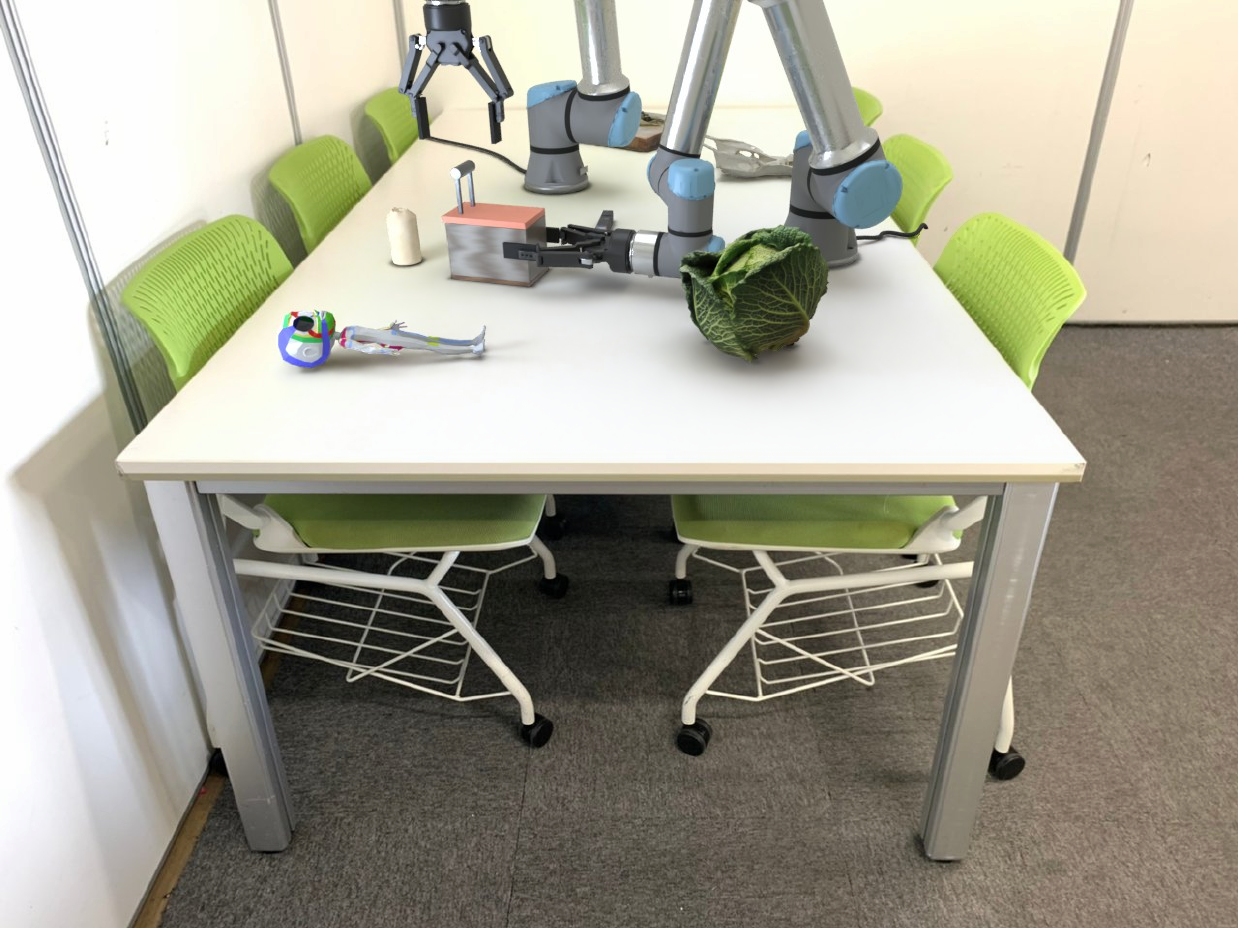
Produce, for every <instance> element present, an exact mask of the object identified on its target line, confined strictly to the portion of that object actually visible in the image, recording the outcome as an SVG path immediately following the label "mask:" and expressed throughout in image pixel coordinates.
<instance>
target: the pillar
mask: <svg viewBox="0 0 1238 928" xmlns="http://www.w3.org/2000/svg"><path fill="white" fill-rule="evenodd" d="M614 216H615V215H614V210H613V209H612V210H611V209H602V212H601V214H600V216H599V219H598V221H597V222H596V225H595V227H594V228H596V229H602V230H611V228H612V226H613V223H614Z"/></svg>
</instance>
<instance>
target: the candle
mask: <svg viewBox="0 0 1238 928" xmlns="http://www.w3.org/2000/svg"><path fill="white" fill-rule="evenodd" d="M417 220H418V219H417V215H416V213H414V212H413V211H412V210H411V209H409V208H403V207H393V208H391V210H390V211H389V212H388V214H387V215H386V217H385V221H386V227H387V234H388V240H389V247H390V254H391V260H392V263H393V264H394V265H396V266H397V265H398V266H411V265H416V264H418V263H420V262H421V261H422V260H423V258H422V251H421V243H420V235H419V229H418V227H419V226H418V221H417Z"/></svg>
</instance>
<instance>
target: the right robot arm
mask: <svg viewBox="0 0 1238 928" xmlns="http://www.w3.org/2000/svg"><path fill="white" fill-rule="evenodd" d="M743 1H744V0H693V4H692V7H691V11H690V12H691V13H690V16H689V21H688V24H687V29H686V32H685V35H684V39H683V40H684V41H683V45H682V49H681V53H680V56H679V62H678V66H677V69H676V74H675V78H674V82H673V85H672V90H671V93H670V98H669V99H670V100H669V102H668V107H667V110H666V114H665V115H666V119H665V123H664V127H663V131H662V135H661V139H660V143H659V147H658V148H657V150H656V153H655V154H654V155H653V156H652V157H651V158H650V160H649V162H648V164H647V168H646V177H647V180H648V183H649V186H650V188H651V189H652V191H653V193H654V194H656V196H658V197H659V198H660V200H662V202H663V203H664V204H665V205H666V206H667V232H666V231H659V230H649V229H639V230H637V231H636V230H635V229H633V228H632V229H631V228H621V227H620V228H619V227H618V228H617V227H616V228H614V229H610V230H602V229H596V228H595V227H590V226H584V225H578V224H572V223H568V224H566V226H561V227H556V226H555V227H554V226H546V236H547V244H548V243H549V244H561V245H553V246H547V247H540V245H539V243H537V244H536V245H534V244H522V243H511V242H503V243H502V245H503V256H504V258H507V259H517V260H528V261H536V265H537V267H549V268H566V269H567V268H568V269H569V268H570V269H571V268H572V269H573V268H574V269H575V268H576V269H578V268H579V269H586V270H592V269H594V264H601V263H606V264H607V265H608V267H609V269H610V271H611V272H613V273H617V274H625V275H627V274H628V275H631V274H633V273H634V274H635V275H641V276H647V277H648V279H652V278H654V277H663V278H669V279H670V278H671V279H678V280H682V279H681V274H680V271H679V266H680V263H681V258H682V257H683V256H684V255H687V254H688V253H691V252H694V251H697V250H698V251H711V252H718V251H720V250H723V249H725V248H726V241H725V239H724V238H723V237H722V236H718V235H714V229H713V228H714V227H713V226H714V225H713V223H714V208H715V206H714V205H715V190H716V179H715V177H716V176H715V167H714V166H715V165H714V164H713V163H712V162H710V161H709V160H704V159H703V158H702V159H701V156H702V151H703V148H704V146H703V144H705V141H706V138H705V137H706V135H707V132H708V130H709V125H710V122H711V119H712V114H713V111H714V107H715V104H716V100H717V96H718V92H719V89H720V85H721V81H722V78H723V73H724V70H725V67H726V62H727V59H728V56H729V52H730V48H731V44H732V41H733V37H734V33H735V31H736V26H737V22H738V18H739V16H740V11H741V7H742V4H743ZM747 2H748V3H750V4H753V5H756V6H759V8H761V11H762V13H763V16H764V18H765V21H766V24H767V27H768V29H769V32H770V35H771V37H772V41H773V43H774V46H775V49H776V51H777V54H778V56H779V59H780V62H781V65H782V67H783V70H784V73H785V75H786V78H787V81H788V84H789V86H790V89H791V91H792V94H793V97H794V99H795V102H796V106H797V107H798V111H799V114H800V116H801V119H802V122H803V124H804V126H805V130H801V131H800V132H799V133H797V135H796V137H795V142H794V145H793V150H792V154H794V155H793V168H792V175H791V181H790V193H789V194H790V195H789V204H788V206H789V207H788V213H787V217H786V219H785V221H784V223H783V226H784V225H785V226H786V227H799V228H800V231H802V232H804V233H806V234H809V236H810V237H811V240H812V245H813V247H814V248H815V247H818V249H819V250H820V251H821V255H822V257H823V258H824V259H825V260H826V263H827V267H828V269H830V268H831V269H833V268H839V267H844V266H847V265H850V264H852V263H853V262H855V261H856V260H857V258H858V253H859V249H858V248H859V246H858V245H859V244H858V241H864V240H865V241H877V240H878V241H879V240H881V239H882V238H883V237H884V236H893V237H894V236H895V237H899V238H901V237H902V238H913V237H915V236H918V235H919V234H920V233H921V232H922V231H923V230H929V226H928V225H927V223H925V222H921V223H920V224H919V226H918V227H917V229H916V230H914V231H912V232H902V231H896V230H890V229H889V230H882V231H881V232H880V233H879V234H876V235H865V234H864V235H857V234H856V230H867V229H871V228H873V227H876V226H877V225H880V224H881V223H883V222H884V221H885V220H887V219H888V217H890V216H891V215H892V214H893V212H894V211H895V210H896V207H897V205H898V203H899V202H900V200H901V197H902V194H903V186H904V184H903V178H902V177H903V176H902V175H901V172H900V171H899V170H898V169H897V168H898V167H897V166H896V165H895V164H894V163H893V162H891V161H890V160H888V159H887V157H886V155H885V152H884V148H883V146H882V143H881V139H880V137H879V134H878V131H877V130H876V129H875V128H872V127H870V126H868V125H865V123H864V119H863V117H862V114H861V111H860V108H859V105H858V103H857V99H856V96H855V93H854V90H853V86H852V84H851V81H850V78H849V74H848V71H847V69H846V66H845V63H844V60H843V56H842V54H841V50H840V47H839V44H838V41H837V39H836V36H835V32H834V29H833V27H832V23H831V20H830V18H829V13H828V11H827V8H826V5H825V1H824V0H747ZM567 244H568V245H567Z"/></svg>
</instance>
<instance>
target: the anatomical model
mask: <svg viewBox="0 0 1238 928" xmlns="http://www.w3.org/2000/svg"><path fill="white" fill-rule="evenodd" d="M705 139H707V140H708V139H709V140H711V141H713V142H714V143H715V146H716V147H712V146H710V145H709V144H707V143H704V144H703V147H705V148H706V149H708V150H711V151H712V152H713V157H714V160H715V169H720V172H722V173H723V174H729V175H731V176H733V177H735V178H757V177H761V176H767V175H768V176H770V175H778V176H779V175H781V176H792V168H793V155H794V153H790V154H788V155H787V156H780V155H779V156H778V155H770V154H767V153H765V152H764V150H762V149H760V148H759V147H758V146H755V145H752V144H750V143H747V142H744V141H741V140H737V139H732V138H720V137H717V136H711V135H708V134H706V137H705ZM741 152H748V153H750V154H751V155H750V156H747V155H744V154H743V153H741ZM755 154H756V155H757V156H758V157H756V156H755Z"/></svg>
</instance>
